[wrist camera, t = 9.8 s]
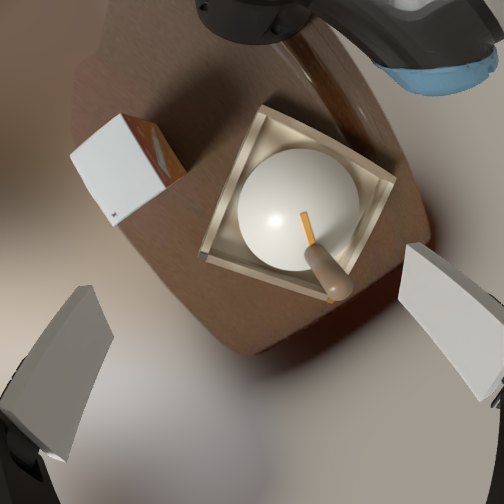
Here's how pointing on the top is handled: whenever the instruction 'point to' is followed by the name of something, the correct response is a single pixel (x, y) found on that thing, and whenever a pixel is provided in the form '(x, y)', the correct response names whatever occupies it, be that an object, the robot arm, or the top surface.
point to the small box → (126, 165)
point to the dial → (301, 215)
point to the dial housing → (249, 156)
